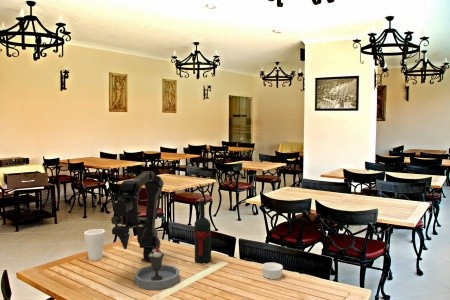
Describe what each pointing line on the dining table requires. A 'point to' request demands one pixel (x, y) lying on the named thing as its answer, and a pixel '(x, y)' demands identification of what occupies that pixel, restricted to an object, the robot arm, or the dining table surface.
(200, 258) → the wine bottle
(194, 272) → the dining table surface
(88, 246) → the foam cup
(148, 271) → the grey polygonal tray
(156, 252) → the sundae
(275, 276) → the ramekin
